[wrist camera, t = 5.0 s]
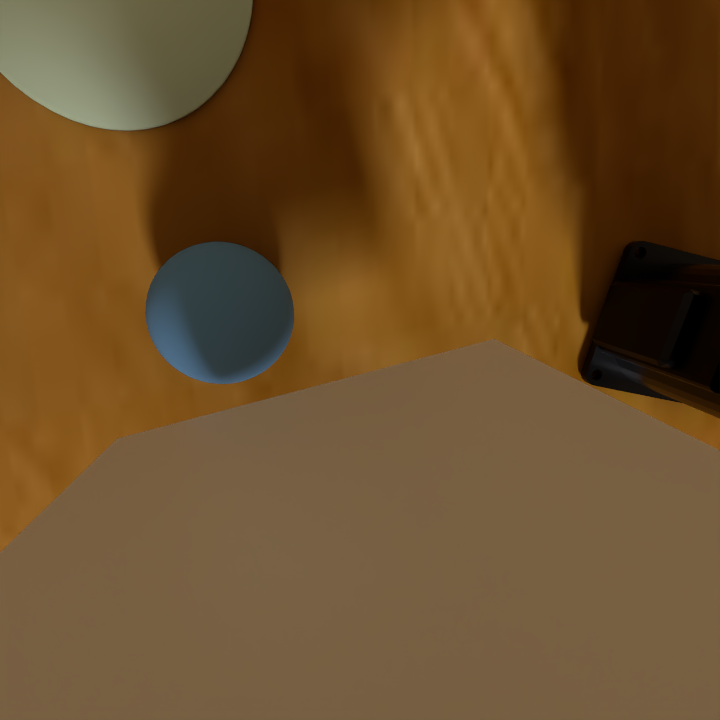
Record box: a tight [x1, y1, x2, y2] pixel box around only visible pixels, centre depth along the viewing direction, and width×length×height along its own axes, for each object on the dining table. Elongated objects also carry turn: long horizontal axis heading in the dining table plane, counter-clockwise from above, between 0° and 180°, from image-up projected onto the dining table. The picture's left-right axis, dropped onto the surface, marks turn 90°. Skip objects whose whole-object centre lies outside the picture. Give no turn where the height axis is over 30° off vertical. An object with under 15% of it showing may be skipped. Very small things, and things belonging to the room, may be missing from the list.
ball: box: [146, 242, 294, 384], centre depth 16 cm, size 5×5×5 cm
